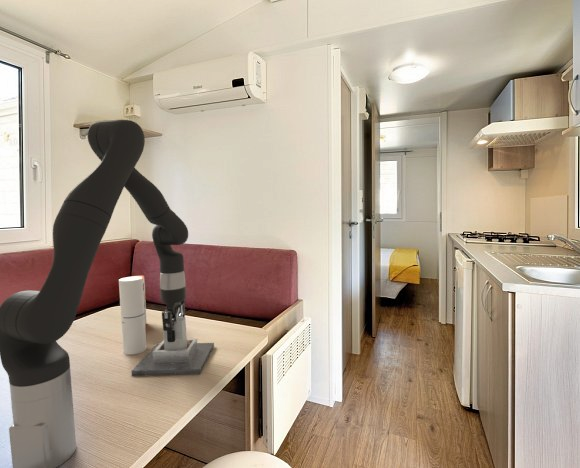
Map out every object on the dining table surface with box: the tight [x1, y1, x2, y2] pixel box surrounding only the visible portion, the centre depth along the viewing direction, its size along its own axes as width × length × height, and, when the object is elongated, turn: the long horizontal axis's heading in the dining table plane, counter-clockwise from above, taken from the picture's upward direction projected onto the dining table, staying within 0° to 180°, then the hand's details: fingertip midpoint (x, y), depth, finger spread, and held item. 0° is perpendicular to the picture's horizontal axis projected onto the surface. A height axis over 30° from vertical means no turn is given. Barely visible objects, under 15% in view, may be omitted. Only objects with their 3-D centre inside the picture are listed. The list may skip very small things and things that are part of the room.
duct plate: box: [131, 338, 215, 377], centre depth 102 cm, size 18×20×5 cm
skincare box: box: [162, 316, 188, 350], centre depth 101 cm, size 6×4×12 cm
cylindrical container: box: [118, 275, 147, 356], centre depth 108 cm, size 7×7×25 cm
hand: (175, 336), depth 101 cm, fingers open, 6 cm apart
